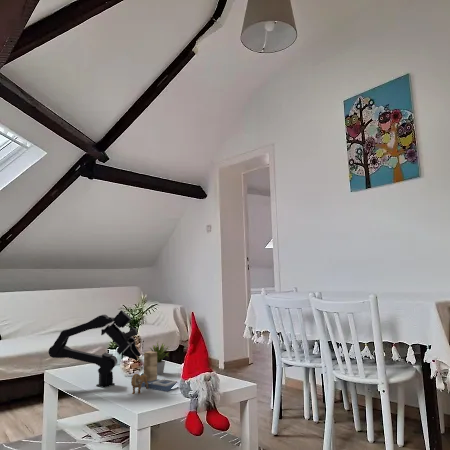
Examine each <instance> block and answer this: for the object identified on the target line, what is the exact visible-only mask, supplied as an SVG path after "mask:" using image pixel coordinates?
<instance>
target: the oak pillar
mask: <svg viewBox="0 0 450 450" xmlns="http://www.w3.org/2000/svg"><path fill="white" fill-rule="evenodd" d="M153 351H154V350H153ZM153 351H152V350H150V351H145V352H144V353H143V375H145V376H146V377H147V381H154V380H157V379H158V374H157V352H153Z"/></svg>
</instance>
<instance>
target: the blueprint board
mask: <svg viewBox="0 0 450 450" xmlns="http://www.w3.org/2000/svg"><path fill="white" fill-rule="evenodd" d="M159 380H160V379H158V378H157V380H154V381H147V383H148V388H149V389H150V390H151V389H152V390H157V391H162V392H170V391H172V390H171V388H172V387H173V386H174V385H175V384H176V383H175V384H172V385H169V386H166V387H165V386H160V385H154V384H153V382H156V381H159ZM160 383H162V384H167V383H171V382H167V381H164V382H160ZM144 386H145V383H144V382H143V383H142V387H141V388H144V389H146V387H147V385H146V387H144Z"/></svg>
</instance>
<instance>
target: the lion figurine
mask: <svg viewBox="0 0 450 450" xmlns="http://www.w3.org/2000/svg"><path fill="white" fill-rule="evenodd" d="M143 382H144V383H145V386H144V387H142V383H143ZM130 383H131V386H132V393H131V394H132V395H135V394H136V389H137V394H138V395H141V394H142V392H141V391H142V390H141V389H142V388H145V387H146V385H147V387H146V388H145V390H148V389H150V388H148V383H147V377H146V376H145V375H144V374H142V375H140V373H134V375H132V377H131V382H130Z"/></svg>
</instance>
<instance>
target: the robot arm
mask: <svg viewBox="0 0 450 450" xmlns="http://www.w3.org/2000/svg"><path fill="white" fill-rule="evenodd" d="M131 320H132V318H131V317H130V315H129V314H128V313H126V312H124V311H123V310H122V309H121V310H120V311H119V312H118V313H117V314H116V315H115V316H114V317H113V316H111V317H109V316H108V315H107V314H101V315H98V316H96V317H94V318H93V319H91V320H89V321H88V322H84V323H82V324H79V325H76V326H74V327H71V328H68V329H67V328H66V329H63V330H62V331H60V333H59V335H58V336H57V338H56V340H55V341H54V343H53V345H52V346H50V347H49V349H48V354H49V356H50V357H51V358H54V359H65V358H67V359H71V360H77V361H79V362H80V361H81V362H85V363H89V364H94V365H96V366H98V367H99V368H98V369H97V372H98V383H97V384H95V386H96V387H101V388H108V387H111V386H115V385H116V383H114V375H113V369H114V368H115V367H116V366H117V364H118V358H117V356H115V355H114V354H113V353H107V352H104V353H103V354H102V355H99V354H95V353H91V352H87V351H81V350H77V349H73V348H71V347H69V346H67V343H68V340H69V338H70V337H72V336H74V335H77V334H78V335H79V334H80V333H84V332H86V331H88V330H89V331H90V330H95V329H100V328H102V329H101V330H100V331H101V333H100V335H101V336H104V335H105V334H106V335H107V336H108V337H109V339H111V340H112V343H114V344H116V345H117V346H118V347H117V349H116V352H117V354H119V355H121V356H124V357H126V358H129V359H132V360H135V361H137V360H139V359H138V357H140V356H141V355H142V354H141V353H140V350H139V349H138V348H137V344H136V343H137V341H136V338H135V337H136V336H137V335H139V333H138V329H137V328H135V327H133V326H132V327H130V328H129V331H126V332H125V331H122V330H121V329H120V328H122V329H123V328H125V326H126V325H127V324H128V323H130V322H131ZM109 324H111V325H109ZM104 327H105V328H104Z"/></svg>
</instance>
